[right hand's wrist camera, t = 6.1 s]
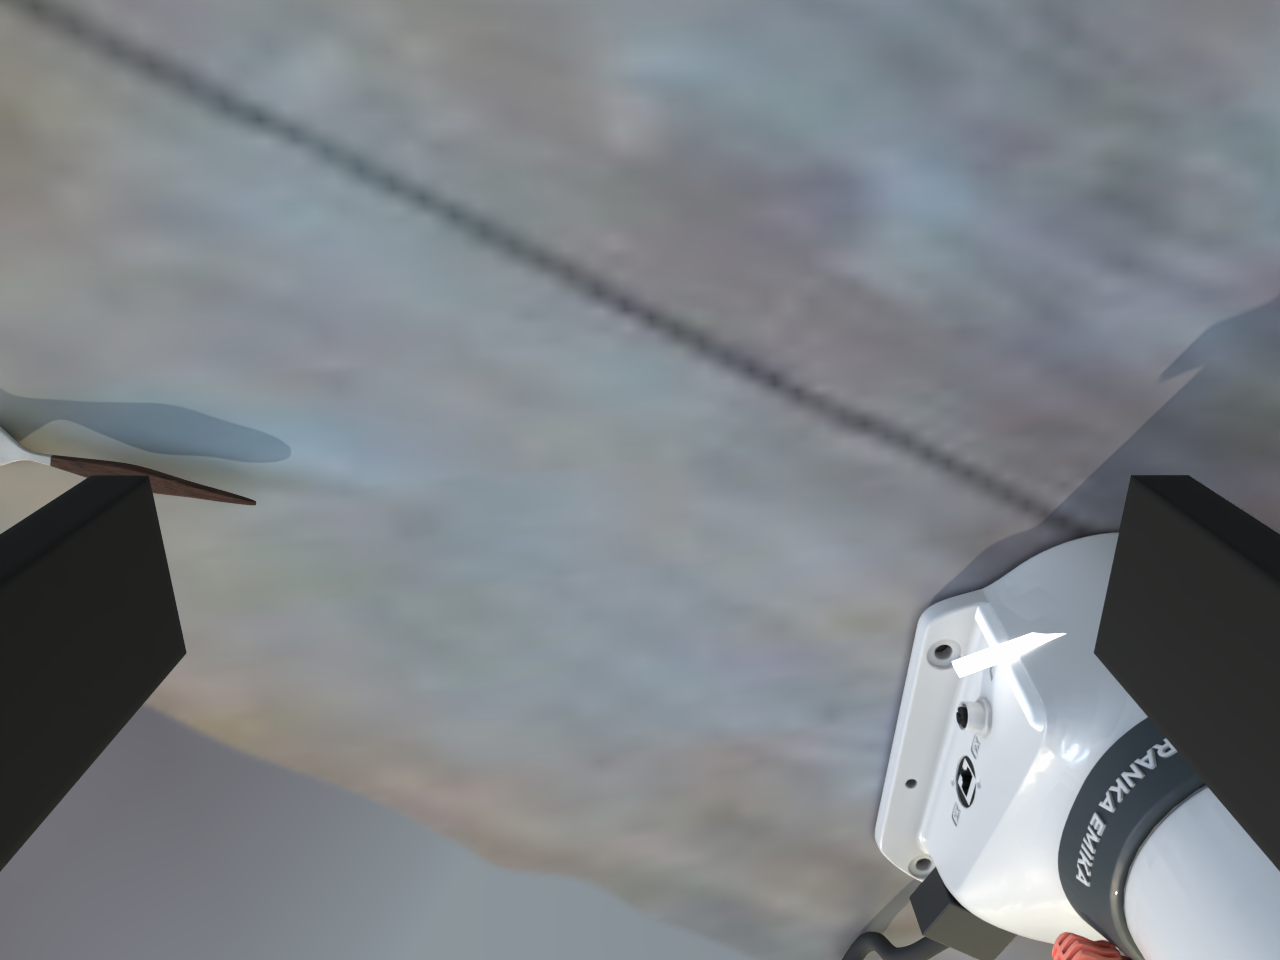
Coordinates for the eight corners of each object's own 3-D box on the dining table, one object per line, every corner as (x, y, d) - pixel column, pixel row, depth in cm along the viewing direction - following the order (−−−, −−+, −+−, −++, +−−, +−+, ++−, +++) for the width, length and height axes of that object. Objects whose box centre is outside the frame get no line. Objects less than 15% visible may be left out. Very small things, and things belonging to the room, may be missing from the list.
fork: (257, 524, 43) (240, 542, 41) (-97, 450, 41) (-132, 466, 40) (262, 473, 42) (245, 490, 40) (-101, 396, 40) (-136, 409, 39)
